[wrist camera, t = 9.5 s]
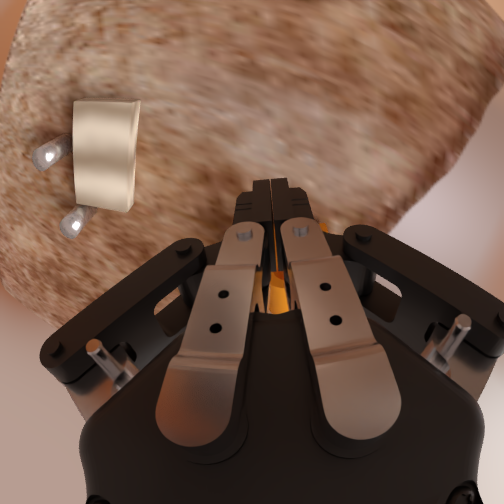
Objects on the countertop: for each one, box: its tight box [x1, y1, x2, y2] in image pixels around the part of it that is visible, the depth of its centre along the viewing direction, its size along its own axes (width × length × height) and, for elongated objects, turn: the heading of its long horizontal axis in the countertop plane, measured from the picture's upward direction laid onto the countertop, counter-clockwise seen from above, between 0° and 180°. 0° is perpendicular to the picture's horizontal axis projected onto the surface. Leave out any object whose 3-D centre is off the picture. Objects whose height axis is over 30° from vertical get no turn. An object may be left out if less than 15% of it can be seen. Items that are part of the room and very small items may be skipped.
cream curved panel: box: [73, 98, 141, 213], centre depth 30 cm, size 14×8×3 cm, turn 167°
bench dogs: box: [32, 133, 97, 239], centre depth 31 cm, size 13×3×6 cm, turn 7°
